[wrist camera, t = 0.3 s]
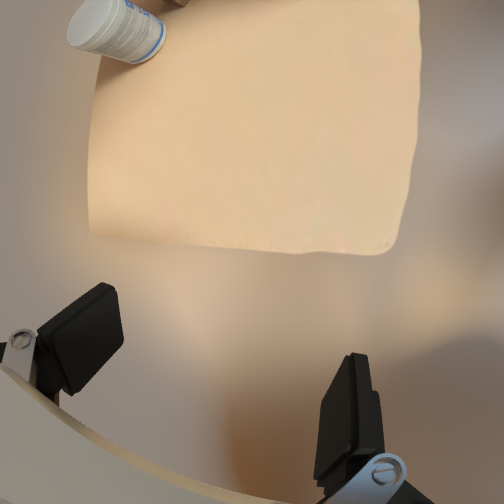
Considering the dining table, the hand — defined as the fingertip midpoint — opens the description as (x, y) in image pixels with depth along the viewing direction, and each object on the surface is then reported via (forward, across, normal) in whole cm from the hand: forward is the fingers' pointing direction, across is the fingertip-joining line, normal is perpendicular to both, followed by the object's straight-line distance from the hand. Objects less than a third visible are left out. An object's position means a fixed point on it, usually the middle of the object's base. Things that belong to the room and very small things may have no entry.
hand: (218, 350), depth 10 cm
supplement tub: (+31, +29, -25) cm, 49 cm away
